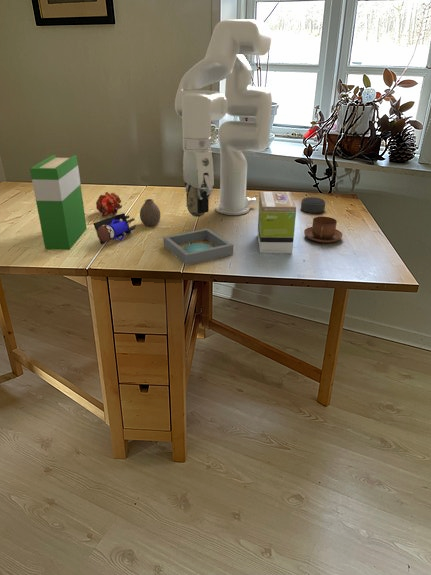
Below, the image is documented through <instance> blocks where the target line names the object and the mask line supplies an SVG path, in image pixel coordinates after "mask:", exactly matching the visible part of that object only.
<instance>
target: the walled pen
mask: <svg viewBox="0 0 431 575" xmlns="http://www.w3.org/2000/svg"><path fill="white" fill-rule="evenodd" d="M204 240H206V241H208V242H210V243H211V244H212V245H214V247H213V246H211V245H209V244H206V243H194V242H199V241H204ZM185 244H187V245H185ZM180 245H185V246H184V247H181V246H180ZM163 247H164V248H165V249H166V250H168V251H169V252H170V253H171V254H172V255H174V256H175V257H176V258H177V259H178V260H179V261H181V262H182V264H184V265H186V266H189V265H192V264H193V265H194V264H197V263H202V262H207V261H211V260H215V259H220V258H224V257H228V256H233V255H234V244H233V243H232V242H230V241H228V240H227V239H225V238H223V237H222V236H221V235H219V234H217V232H214V231H213V230H211V229H210V228H203V229H199V230H198V229H197V230H193V231H188V232H181V233H177V234H172V235H167V236H163Z"/></svg>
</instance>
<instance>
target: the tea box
mask: <svg viewBox="0 0 431 575" xmlns="http://www.w3.org/2000/svg"><path fill="white" fill-rule="evenodd" d="M296 216H297V206H296V203H295V201H294V198H293V196H292V193H291V191H259V194H258V216H257V218H258V219H257V241H258V248H259V253H260V254H293V248H294V239H295V238H294V237H295V227H296Z"/></svg>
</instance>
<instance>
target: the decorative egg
mask: <svg viewBox="0 0 431 575" xmlns="http://www.w3.org/2000/svg"><path fill="white" fill-rule="evenodd" d="M202 187H204V185H202V186H201V188H202ZM204 191H205V190H201V192H202V193H203V192H204ZM198 199H199V196H198V190H197V188H195V187H193V186H191V188H190V190H189V193H188V197H187V196H186V207H187V211H188V212H189V214H190V215H191V216H192V217H196V218H199V217H203V216H204V215H205V213H198Z"/></svg>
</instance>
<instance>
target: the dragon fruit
mask: <svg viewBox="0 0 431 575" xmlns="http://www.w3.org/2000/svg"><path fill="white" fill-rule="evenodd" d="M121 203H122V199H121V197H120V196H119V195H117V194H116V193H115V192H111V193H110V192H108V191H107V192H104V194H100V195H99V196H98V198H97V200H96V203H95V204H96V210H98V212H99V213H100V214H101V216H102V217H109V216H110V215H111V214H112V216H115V215H117V213H118V211H119V210H120V209H122V207H123V205H122V204H121Z"/></svg>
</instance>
